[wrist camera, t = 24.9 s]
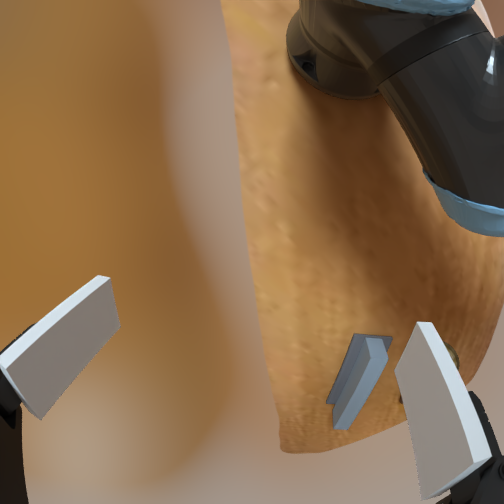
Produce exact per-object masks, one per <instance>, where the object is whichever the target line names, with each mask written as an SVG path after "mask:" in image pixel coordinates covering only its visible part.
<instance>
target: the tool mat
mask: <svg viewBox="0 0 504 504" xmlns="http://www.w3.org/2000/svg"><path fill="white" fill-rule="evenodd" d="M365 338H378V339H382V340H383V343H384V346H385V349H386V352H387V351H388V348H389V346H390V344H391V342H392V340H393V338H392V337H389V336H376V335H364V334H354V335H353V337H352V340H351V343H350V345H349V348H348V351H347V353H346V356H345V358H344V361H343V363H342V366H341V368H340V371H339V373H338V376H337V378H336V380H335V383H334V385H333V387H332V389H331V392H330V394H329V396H328V398H327V400H326V404H336V403H337V401H338V399H339V397H340V395H341V392H342V390H343V388H344V386H345V384H346V382H347V380H348V378H349V375H350V373H351V371H352V369H353V367H354V364H355V362H356V360H357V357H358V355H359V353H360V350H361V348H362V345H363V343H364V340H365Z"/></svg>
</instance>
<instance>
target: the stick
mask: <svg viewBox="0 0 504 504" xmlns="http://www.w3.org/2000/svg"><path fill="white" fill-rule="evenodd" d="M387 361H388V355H387V352H386V349H385V346H384V343H383V340H382V339H378V338H365V340H364V343H363V345H362V348H361V350H360V353H359V355H358V357H357V360H356V362H355V364H354V367H353V369H352V371H351V373H350V375H349V378H348V380H347V382H346V384H345V386H344V388H343V390H342V392H341V395H340V397H339V399H338V401H337V403H336V404H335V406H334V408H333V429H343V430H348V428H349V427H350V425H351V424H352V422H353V421H354V419H355V418H356V416H357V414H358V413H359V411H360V410H361V408H362V406H363V405H364V403H365V401H366V400H367V398H368V396H369V395H370V393H371V391H372V389H373V388H374V386H375V384H376V382H377V380H378V379H379V377H380V375H381V373H382V371H383V369H384V367H385V365H386V363H387Z"/></svg>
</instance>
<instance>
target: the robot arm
mask: <svg viewBox="0 0 504 504" xmlns="http://www.w3.org/2000/svg"><path fill="white" fill-rule="evenodd" d="M474 1H475V0H299V5H300V8H299V10H298V11H297V12H296V13H295V14H294V16H293V17H292V19H291V20H290V23H289V25H288V28H287V34H286V43H287V49H288V54H289V57H290V60H291V62H292V64H293V66H294V67H295V69H296V70H297V71H298V73H299V74H300V75H301V76H302V77H303V78H304V79H305V80H306V81H307V82H308V83H310V84H311V85H312V86H314V87H315V88H317V89H319V90H320V91H322V92H324V93H327V94H329V95H332V96H335V97H338V98H343V99H351V100H360V99H367V98H371V97H374V96H377V95H379V94H382V96H383V97H384V99H385V100H386V102H387V103H388V105H389V106H390V108H391V110H392V111H393V113H394V115H395V116H396V118H397V120H398V121H399V123H400V125H401V126H402V128H403V130H404V132H405V134H406V135H407V137H408V139H409V141H410V143H411V145H412V147H413V149H414V150H415V152H416V154H417V156H418V158H419V161H420V163H421V165H422V167H423V173H424V175H425V177H426V179H427V180H428V182H429V183H430V184H431V185H432V186H433V188H434V190H435V192H436V195H437V197H438V199H439V201H440V203H441V205H442V208H443V209H444V211H445V212H446V214H447V215H448V216H449V217H450V218H452V219H453V220H455V222H456V223H458V224H459V225H460V226H461V227H463V228H465V229H467V230H469V231H472V232H475V233H478V234H482V235H486V236H494V237H504V35H503V36H501V37H498V38H494V37H493V36H492V35H491V33H490V32H489V31H488V29H487V28H486V26H485V25H484V23H483V22H482V21H481V19H480V18H479V16H478V15H477V14H476V12H475V11H474V10H473V8H472V7H471V6H472V5H473V4H474ZM120 327H121V326H120V322H119V318H118V313H117V309H116V304H115V300H114V295H113V289H112V284H111V279H110V278H109V277H104V276H100V275H98V276H96V277H95V278H94V279H92V280H91V281H90V282H88V283H87V284H86V285H84V286H83V287H82V288H80V289H79V290H78V291H76V292H75V293H74V294H72V295H71V296H70V297H69V298H67V299H66V300H65V301H64V302H62V303H61V304H60V305H58V306H57V307H56V308H55V309H53V310H52V311H51V312H50V313H48V314H47V315H46V316H45V317H44V318H42V319H41V320H40V321H39V322H37V323H35V324H33V325H31V326H29V327H28V328H27V329H26V330H25V331H23V333H22V334H20V335H19V336H18V337H16V340H15V339H14V340H13V341H12V342H11V343H10V344H9V345H7V346H6V347H5V348H4V349H3V350H2V351H1V352H0V504H29V502H28V497H27V491H26V484H25V476H24V467H23V453H22V408H21V406H20V404H21V402H23V404H24V405H25V407H26V408H27V409H28V411H29V412H30V413H32V414H33V415H34V416H36V417H37V418H38V419H39V420H42V418H43V417H44V416H45V415H46V413H47V412H48V411H49V410H50V408H51V407H52V406H53V405H54V403H55V402H56V401H57V400H58V398H59V397H60V396H61V395H62V394H63V392H64V391H65V390H66V389H67V388H68V386H69V385H70V384H71V383H72V382H73V380H74V379H75V378H76V377H77V376H78V375H79V373H80V372H81V371H82V370H83V369H84V368H85V366H86V365H87V364H88V363H89V362H90V361H91V360H92V358H93V357H94V356H95V355H96V354H97V353H98V352H99V350H100V349H101V348H102V347H103V346H104V345H105V344H106V343H107V342H108V340H109V339H110V338H111V337H112V336H113V335H114V334H115V333H116V331H117V330H118V329H119V328H120ZM394 371H395V375H396V378H397V382H398V385H399V389H400V392H401V396H402V400H403V404H404V408H405V412H406V416H407V420H408V425H409V429H410V434H411V439H412V444H413V449H414V454H415V460H416V466H417V472H418V478H419V486H420V494H421V500H425V499H429V498H433V497H436V496H440V495H441V494H442V493H444V492H446V491H447V490H449V489H450V491H451V494H450V495H449V496H447V497H445V498H444V499H442V500H440V501H439V502H437V503H436V504H504V456H502V454H501V452H500V449H499V446H498V443H497V440H496V438H495V435H494V432H493V429H492V427H491V424H490V422H488V417H487V414H486V413H485V410H484V407H483V406H482V403H481V401H480V399H479V398H478V397H477V396H476V395H475V394H474V392H473V391H469V392H467V389H466V387H465V385H464V383H463V381H462V379H461V376H460V374H459V372H458V370H457V368H456V366H455V364H454V362H453V360H452V358H451V357H450V355H449V353H448V351H447V349H446V347H445V345H444V343H443V342H442V340H441V338H440V336H439V334H438V333H437V331H436V329H435V327H434V326H433V324H432V322H417V323H416V325H415V327H414V330H413V332H412V334H411V337H410V339H409V341H408V343H407V345H406V348H405V350H404V352H403V354H402V356H401V358H400V360H399V362H398V364H397V366H396V368H395V370H394Z"/></svg>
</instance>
